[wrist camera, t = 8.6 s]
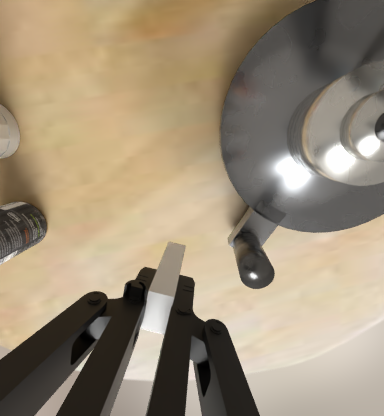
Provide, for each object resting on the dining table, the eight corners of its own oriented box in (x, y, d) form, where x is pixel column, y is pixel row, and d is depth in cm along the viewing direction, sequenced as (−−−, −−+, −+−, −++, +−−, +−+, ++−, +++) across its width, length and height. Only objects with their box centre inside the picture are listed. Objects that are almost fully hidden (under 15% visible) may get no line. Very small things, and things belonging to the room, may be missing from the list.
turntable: (305, -48, 17) (370, -178, 10) (488, 87, 19) (653, 53, 12) (162, 204, 24) (143, 227, 17) (305, 287, 26) (342, 340, 19)
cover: (328, 62, 18) (395, 16, 11) (401, 116, 18) (501, 101, 12) (268, 146, 20) (296, 147, 14) (335, 192, 21) (391, 212, 14)
